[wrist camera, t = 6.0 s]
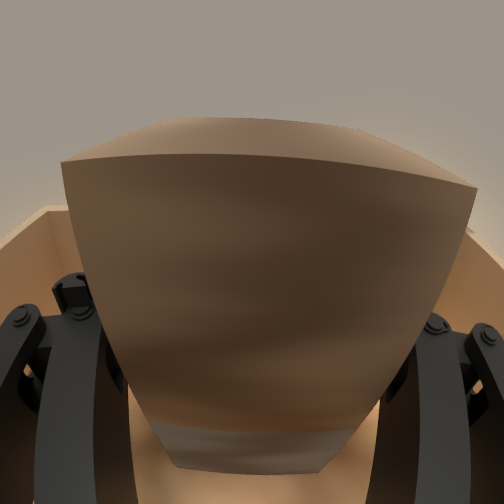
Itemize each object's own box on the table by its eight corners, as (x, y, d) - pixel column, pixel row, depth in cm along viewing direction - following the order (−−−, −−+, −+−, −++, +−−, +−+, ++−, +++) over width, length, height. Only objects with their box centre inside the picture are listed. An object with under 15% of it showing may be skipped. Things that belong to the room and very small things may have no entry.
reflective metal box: (176, 466, 9) (60, 162, 3) (195, 364, 14) (174, 118, 8) (318, 472, 9) (477, 188, 3) (307, 369, 14) (359, 129, 8)
